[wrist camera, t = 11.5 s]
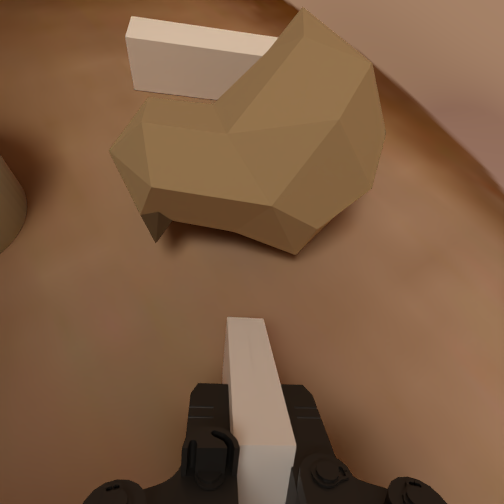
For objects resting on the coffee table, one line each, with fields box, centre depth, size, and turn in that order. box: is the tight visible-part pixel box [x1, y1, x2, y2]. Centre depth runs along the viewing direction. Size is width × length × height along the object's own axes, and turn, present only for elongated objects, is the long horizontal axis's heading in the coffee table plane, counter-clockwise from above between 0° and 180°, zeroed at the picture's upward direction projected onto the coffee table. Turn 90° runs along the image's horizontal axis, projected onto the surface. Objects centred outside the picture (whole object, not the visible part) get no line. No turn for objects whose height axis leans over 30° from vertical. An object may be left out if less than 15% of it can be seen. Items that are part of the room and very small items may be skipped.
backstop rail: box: [125, 16, 278, 100], centre depth 27 cm, size 2×16×4 cm, turn 89°
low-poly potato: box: [109, 7, 386, 255], centre depth 19 cm, size 15×11×12 cm
